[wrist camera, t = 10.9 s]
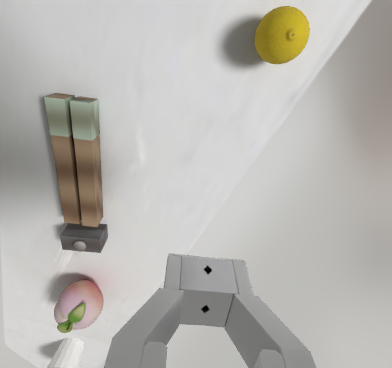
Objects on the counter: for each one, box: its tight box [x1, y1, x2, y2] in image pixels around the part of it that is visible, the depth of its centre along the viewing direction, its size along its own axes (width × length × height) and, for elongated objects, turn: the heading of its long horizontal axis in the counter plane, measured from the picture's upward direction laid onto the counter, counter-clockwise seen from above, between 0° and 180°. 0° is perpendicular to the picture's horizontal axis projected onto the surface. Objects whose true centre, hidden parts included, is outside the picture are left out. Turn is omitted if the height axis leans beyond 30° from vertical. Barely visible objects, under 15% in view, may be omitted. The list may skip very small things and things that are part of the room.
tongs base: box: [44, 93, 108, 253], centre depth 38 cm, size 25×6×5 cm, turn 173°
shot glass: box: [47, 338, 85, 368], centre depth 60 cm, size 7×7×7 cm
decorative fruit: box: [54, 280, 103, 333], centre depth 48 cm, size 9×8×10 cm
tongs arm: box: [70, 97, 103, 227], centre depth 38 cm, size 20×2×3 cm, turn 172°
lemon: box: [255, 6, 310, 64], centre depth 28 cm, size 6×6×8 cm
